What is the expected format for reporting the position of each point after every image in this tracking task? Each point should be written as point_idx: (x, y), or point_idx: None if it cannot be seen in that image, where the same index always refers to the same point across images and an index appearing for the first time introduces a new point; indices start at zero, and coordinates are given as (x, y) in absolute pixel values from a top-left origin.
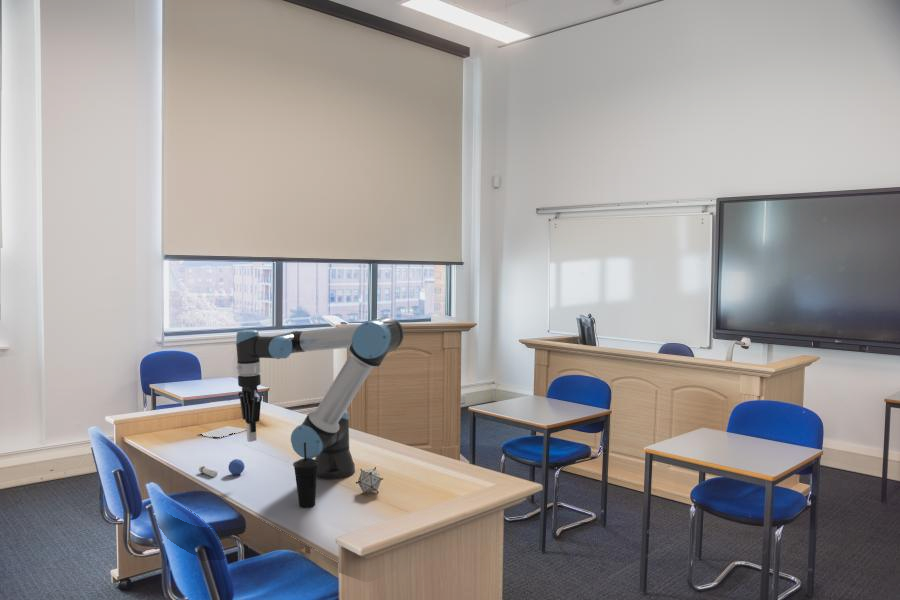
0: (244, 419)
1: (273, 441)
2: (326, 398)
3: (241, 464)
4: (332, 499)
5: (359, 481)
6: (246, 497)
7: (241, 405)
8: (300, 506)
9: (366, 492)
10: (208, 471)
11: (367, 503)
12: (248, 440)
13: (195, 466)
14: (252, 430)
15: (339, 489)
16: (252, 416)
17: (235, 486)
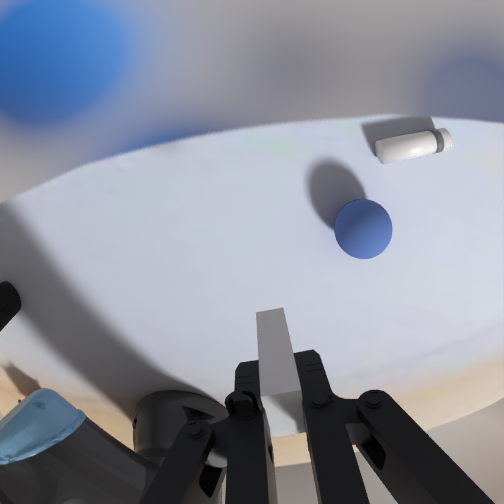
0: (360, 397)
1: (497, 366)
2: None
3: (344, 245)
4: (26, 347)
5: (19, 402)
6: (101, 186)
7: (457, 483)
8: (2, 282)
9: None
10: (400, 137)
11: (6, 373)
12: (268, 313)
13: (490, 149)
14: (236, 374)
15: (72, 384)
16: (179, 467)
17: (226, 180)
